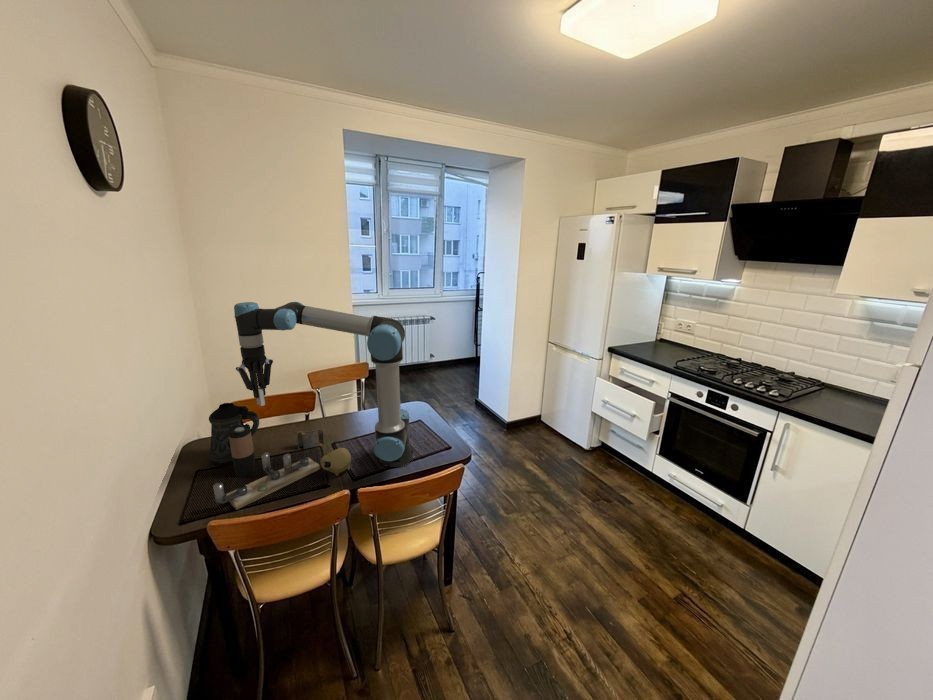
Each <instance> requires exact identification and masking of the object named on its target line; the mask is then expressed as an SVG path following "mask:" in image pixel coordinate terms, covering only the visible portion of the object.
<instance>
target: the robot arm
mask: <svg viewBox="0 0 933 700" xmlns="http://www.w3.org/2000/svg"><path fill="white" fill-rule="evenodd" d="M233 311H234V315H233V316H234V319H235V323H236V328H237V337H238V341H239V346H240V349H239V350H240V354H241V359H242V360H241V364H240V365H239V366H236V367H235V371H236V372H238V373H239V375H240V377H241V379H242V381H243V384H244V386H245V388H246V389H247V390H249V391H252V395H253V398H254V399H256V405H258V406H260V407H263V406H265V405H266V401H265V396H266V395H267V394H266V389H267V386H269V385H270V382H271V373H272V372H271V371H272V365H273V363H274V359H270V358H268V357H267V355H265V354H266V352H265V345H264V343H265V342H264V337H263V330H264V331H266V330H267V331H290V330H293V329H295V326H296V324H298V325H303V326H309V327H315V328H321V329H326V330H330V331H331V330H332V331H336V332H342V333H348V334H353V335H354V334H355V335H357V336H358V335H359V336H365V337H367V341H366V347H367V350H368V352H369V354H370V361H371V362H372V363H373V364H374V365H375V379H376V396H377V413H378V415H377V416H378V421H377V422H376V423H375V425H374V430H375V431H374V433H375V434H374V435H375V436H374V437H375V441H374V442H373V453H374V454H375V455H374V456H376V457H377V458H378V459H379V460H380V461H379V460H378V461H379V463H380V462H381V463H382V464H384V465H387V466H392V467H399V468H401V467H400V466H403V465H405V464H407V463H409V462H410V461H411V460H412V458H413V459H414V451H413V450H414V449H413V447H412V445H411V443H410V414H409V411H408V410H407V409H406V410H405V409H403V408H401V387H400V386H401V385H400V384H401V382H400V363H401V362H402V361H403V358H404V356H403V353H404V351H403V349H404V347H403V342H404V341H405V338H406V332H405V331H406V329H405V327H404V326H403V324H402V323H401V322H400V321H399V320H396V318H395V319H393V318H389V317H385V316H384V317H383V316H377V315H372V316H369V317H368V316H363V315H360V314H359V315H358V314H352V313H347V312H343V311H336V310H333V309H332V310H330V309H327V308H325V309H324V308H320V307H314V306H309V305H304V304H303V303H302V302H299V301H291V302H287V303H286V304H283V305H281V306H277V307H276V308H260V307H259V304H258V303H257V302H253V301H249V302H248V301H247V302H246V301H243V302H238V303H236V304H234V306H233ZM246 369H247V371H248V373H249V375H248V373H247V372H246ZM412 461H413V460H412ZM412 461H411V462H412ZM411 462H410V463H411ZM381 463H380V464H381ZM410 463H409V464H410ZM382 464H381V465H382ZM384 465H383V466H384ZM403 467H404V466H403Z"/></svg>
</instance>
